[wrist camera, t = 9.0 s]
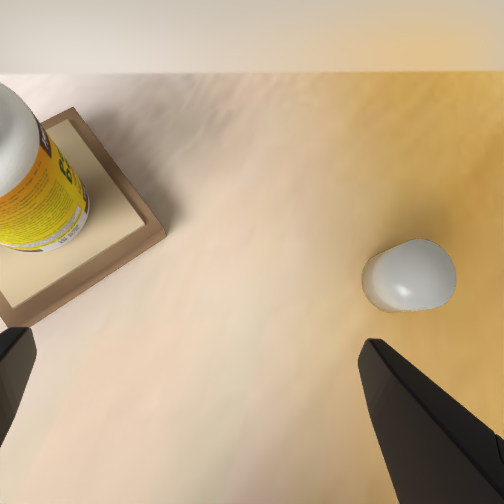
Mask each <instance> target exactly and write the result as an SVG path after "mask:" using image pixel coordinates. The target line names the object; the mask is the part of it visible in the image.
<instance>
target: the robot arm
mask: <svg viewBox="0 0 504 504" xmlns="http://www.w3.org/2000/svg"><path fill="white" fill-rule="evenodd" d="M36 355H37V349H36V345H35V341H34V337H33V333H32V330H31V328H29V327H23V326H13V327H10V328H8V329H6V330H5V331H3V332H2V333H0V447H1V445H2V443H3V441H4V439H5V437H6V435H7V433H8V431H9V429H10V427H11V424H12V422H13V420H14V418H15V415H16V413H17V410H18V407H19V405H20V402H21V399H22V396H23V393H24V391H25V388H26V385H27V382H28V379H29V376H30V374H31V371H32V368H33V365H34V362H35V359H36ZM358 368H359V372H360V377H361V381H362V385H363V390H364V394H365V398H366V403H367V407H368V411H369V415H370V418H371V421H372V425H373V428H374V431H375V433H376V436H377V439H378V442H379V445H380V448H381V451H382V454H383V457H384V460H385V463H386V466H387V469H388V471H389V474H390V477H391V480H392V483H393V486H394V489H395V492H396V495H397V498H398V501H399V504H504V440H503V439H502V438H501V437H500V436H499V435H497V434H495V433H494V431H492V430H491V429H490V428H489V427H488V426H486V425H485V424H484V423H483V422H482V421H480V420H479V419H478V418H477V417H475V416H474V415H473V414H472V413H471V412H469V411H468V410H467V409H466V408H465V407H463V406H462V405H461V404H460V403H458V402H457V401H456V400H455V399H454V398H452V397H451V396H450V395H449V394H448V393H446V392H445V391H444V390H443V389H442V388H440V387H439V386H438V385H437V384H435V383H434V382H433V381H432V380H431V379H429V378H428V377H427V376H426V375H425V374H423V373H422V372H421V371H420V370H419V369H417V368H416V367H415V366H414V365H412V364H411V363H410V362H409V361H408V360H406V359H405V358H404V357H403V356H402V355H400V354H399V353H398V352H397V351H396V350H394V349H393V348H392V347H391V346H389V345H388V344H387V343H386V342H385V341H383V340H382V339H374V338H369V339H367V340H366V341H365V343H364V345H363V348H362V350H361V352H360V355H359V358H358Z"/></svg>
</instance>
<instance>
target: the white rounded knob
mask: <svg viewBox="0 0 504 504" xmlns="http://www.w3.org/2000/svg"><path fill="white" fill-rule="evenodd" d="M362 287H363V290H364V293H365V295H366V297H367V298H368V300H369V301H370V302H371V303H372V304H373V305H374V306H375V307H376V308H378V309H380V310H382V311H384V312H388V313H398V312H407V311H416V310H424V309H433V308H437V307H440V306H442V305H443V304H445V303H446V302H447V301H448V300H449V299H450V298H451V296H452V295H453V293H454V290H455V287H456V271H455V267H454V265H453V262H452V260H451V258H450V257H449V255H448V254H447V253H446V252H445V251H444V249H442V248H441V247H440V246H439V245H437V244H436V243H434V242H431V241H429V240H425V239H413V240H409V241H407V242H405V243H402V244H400V245H398V246H396V247H393V248H391V249H389V250H387V251H384V252H382V253H380V254H378V255H376V256H374V257H372V258H371V259H370V260H369V261H368V262H367V263H366V265H365V267H364V269H363V272H362Z"/></svg>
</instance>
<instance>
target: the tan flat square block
mask: <svg viewBox="0 0 504 504" xmlns="http://www.w3.org/2000/svg"><path fill="white" fill-rule="evenodd" d="M40 124H41V125H42V127H43V128H44V129H45V131H46V132H47V133H48V135H49V136H50V137H51V139H52V140H53V142H54V143H55V144H56V146H57V147H58V149H59V150H60V151H61V153H62V154H63V156H64V157H65V158H66V160H67V161H68V162H69V164H70V165H71V167H72V168H73V170H74V171H75V172H76V174H77V175H78V176H79V178H80V179H81V181H82V182H83V184H84V186H85V188H86V190H87V193H88V197H89V213H88V217H87V220H86V222H85V224H84V226H83V228H82V229H81V231H80V232H79V233H78V234H77V235H76V236H75V237H74V238H73V239H72V240H71V241H70V242H68V243H67V244H65V245H63V246H61V247H59V248H57V249H54V250H51V251H48V252H42V253H25V252H20V251H16V250H13V249H10V248H8V247H6V246H3V245H1V244H0V317H1V318H2V320H3V321H4V322H5V324H6V325H7V327H8V328H10V327H13V326H23V327H31V326H32V325H34V324H35V323H37V322H38V321H40V320H41V319H43V318H44V317H46V316H47V315H49V314H50V313H52V312H53V311H55V310H57V309H58V308H60V307H61V306H63V305H64V304H66V303H67V302H69V301H70V300H72V299H73V298H75V297H76V296H78V295H79V294H81V293H82V292H84V291H85V290H87V289H88V288H90V287H91V286H93V285H94V284H96V283H97V282H99V281H100V280H102V279H103V278H105V277H106V276H108V275H109V274H111V273H112V272H114V271H115V270H117V269H119V268H120V267H122V266H123V265H125V264H126V263H128V262H129V261H131V260H132V259H134V258H135V257H137V256H138V255H140V254H141V253H143V252H144V251H146V250H147V249H149V248H150V247H152V246H153V245H155V244H156V243H158V242H159V241H161V240H162V239H164V238H165V237H166V234H165V230H164V228H163V226H162V225H161V224H160V222H159V221H158V220H157V218H156V217H155V216H154V214H153V213H152V212H151V210H150V209H149V208H148V206H147V205H146V203H145V202H144V201H143V199H142V198H141V197H140V195H139V194H138V193H137V191H136V190H135V189H134V187H133V186H132V185H131V183H130V182H129V181H128V179H127V178H126V177H125V175H124V174H123V173H122V171H121V170H120V169H119V167H118V166H117V165H116V163H115V162H114V161H113V159H112V158H111V157H110V155H109V154H108V153H107V151H106V150H105V149H104V147H103V146H102V145H101V143H100V142H99V140H98V139H97V138H96V136H95V135H94V134H93V132H92V131H91V130H90V128H89V127H88V126H87V124H86V123H85V122H84V120H83V119H82V118H81V116H80V115H79V114H78V112H77V111H76V110H75V108H74V107H72V108H70V109H68V110H66V111H64V112H62V113H60V114H58V115H56V116H54V117H52V118H50V119H48V120H46V121H44V122H42V123H40Z"/></svg>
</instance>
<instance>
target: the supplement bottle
mask: <svg viewBox="0 0 504 504" xmlns="http://www.w3.org/2000/svg"><path fill="white" fill-rule="evenodd" d="M88 213H89V197H88V193H87V190H86V188H85V186H84V184H83V182H82V181H81V179H80V178H79V176H78V175H77V174H76V172H75V171H74V170H73V168H72V167H71V165H70V164H69V162H68V161H67V160H66V158H65V157H64V156H63V154H62V153H61V151H60V150H59V149H58V147H57V146H56V144H55V143H54V142H53V140H52V139H51V137H50V136H49V135H48V133H47V132H46V131H45V129H44V128H43V127H42V125H41V124H40V122H39V121H38V120H37V118H36V117H35V115H34V114H33V113H32V111H31V110H30V108H29V107H28V106H27V105H26V103H25V102H24V101H23V100H22V99H21V98H20V97H19V96H18V95H17V94H16V93H15V92H14V91H12V90H11V89H10V88H8V87H7V86H5V85H3V84H2V83H0V244H1V245H3V246H6V247H8V248H10V249H13V250H16V251H20V252H25V253H42V252H48V251H51V250H54V249H57V248H59V247H61V246H63V245H65V244H67V243H68V242H70V241H71V240H72V239H73V238H74V237H75V236H76V235H77V234H78V233H79V232H80V231H81V229H82V228H83V226H84V224H85V222H86V220H87V217H88Z"/></svg>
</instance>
